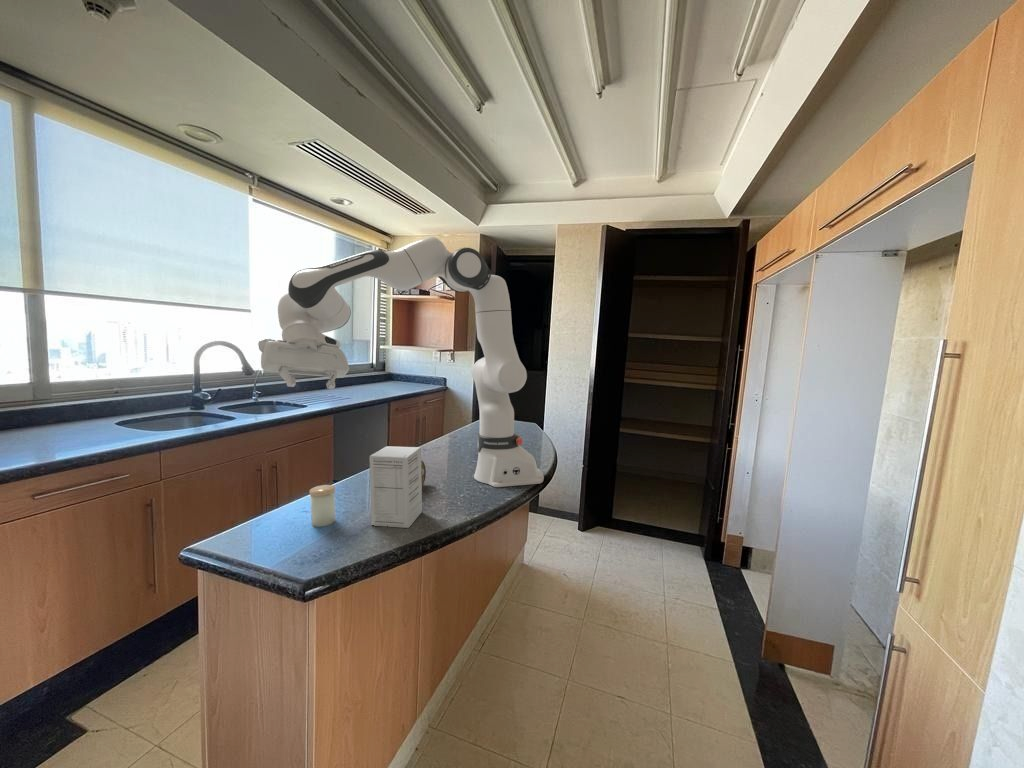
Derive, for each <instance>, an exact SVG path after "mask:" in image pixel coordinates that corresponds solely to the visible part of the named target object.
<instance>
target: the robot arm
mask: <svg viewBox="0 0 1024 768" xmlns="http://www.w3.org/2000/svg"><path fill="white" fill-rule="evenodd" d="M364 277H368V278H369V277H370V278H375V279H376V280H377V279H378V280H379V281H381V282H382V283H384V284H386V285H387V287H388V286H389V287H390V288H392V289H395V290H399V291H409V290H411V289H414V288H416V287H417V286H419V285H422V284H423V283H425V282H427V281H428V280H431V279H433V278H437V277H438V279H440V281H441V282H442V283H444V285H446V286H447V287H448V288H449V289H450V290H451V291H453V292H455V293H467V292H469V293H471V295H472V298H473V301H474V307H475V308H474V312H475V325H476V337H477V341H478V342H479V344H480V346H481V349H482V352H483V357H481V358H479V359H478V360H477V361H475V363H474V364H473V365H472V369H471V376H472V379H473V382H474V384H475V385H474V386H475V391H476V392H475V393H476V396H477V401H478V403H477V404H478V409H479V410H478V411H479V433H478V435H477V450H478V454H477V455H478V456H477V463H476V468H475V472H474V474H473V478H474V479H475V480H476V481H477V482H480V483H483V484H487V485H490V486H492V487H494V488H502V487H503V488H504V487H514V486H516V487H517V486H527V485H537V484H542V483H543V482H544V479H545V477H544V474H543V472H542V470H540V469H539V468H538V467H537V462H536V459H535V457H534V456H533V454H531V453H530V452H528V451H527V450H526V449H525V448H524V447H522V446H521V445H522V444H523V442H524V441H523V438H522V437H520V436H519V435H518V434H517V433H515V409H514V406H513V404H512V402H511V399H510V395H509V394H511V393H516V392H518V391H520V390H521V389H522V388H523V387H524V386H525V384H526V381H527V379H528V373H527V369H526V367H525V366H524V364H523V362H522V361H521V359H520V357H519V353H518V350H517V347H516V343H515V340H514V334H513V324H512V323H513V322H512V319H513V318H512V308H511V300H510V293H509V289H508V285H507V282H506V280H505V278H503V277H502V276H499V275H495V274H492V271H491V269H490V267H489V266H488V265H487V262H486V261H485V259H484V257H483V255H482V254H481V253H480V251H478V250H477V249H475V248H472V247H461V248H458V249H457V250H455V251H454V252H451V251H449V250H448V249H447V247H446V246H445V244H444V243H443V242H442V241H441V240H440V239H439V238H437V237H434V236H430V237H429V236H428V237H426V238H422V239H419V240H415V241H413V242H411V243H407V244H406V245H404V246H402V247H400V248H398V249H395V250H391V251H390V250H389V251H383V250H380V249H371V250H367V251H364V252H361V253H356V254H354V255H351V256H348V257H345V258H342V259H338V260H335V261H333V262H329V263H326V264H324V265H320V266H313V267H309V268H303V269H301V270H298V271H296V272H295V273H293V275H292V276H291V278H290V281H288V282H289V283H288V289H287V290H288V291H287V292H286V293H285V294H283V295H282V296H281V298H280V299H279V301H278V305H277V317H278V318H277V319H278V322H279V327H280V329H281V330H282V331H281V339H273V338H267V337H266V338H264V339H260V340H259V341H258V344H257V345H258V349H259V351H260V352H261V355H260V367H261V369H262V370H263V371H264V372H267V373H278V375H279V376H280V378H282V379H283V380H284V381H285V382H286V387H288V388H289V387H291V388H292V387H293V388H294V387H295V386H296V384H297V380H296V377H294V376H293V377H292V376H291V375H301V376H302V375H303V376H316V377H325V378H326V377H328V381H327V382H326V383H325V385H326V389H328V390H334V389H335V387H336V382H335V381H336V378H339V379H340V378H341V379H342V378H344V377H345V376H346V375H347V373H348V372H349V371H350V365H349V363H348V360H347V357H346V355H345V353H344V351H343V350H342V349H341V342H340V340H338V339H335V338H333V337H331V336H328V335H325V334H324V333H328V332H333V331H335V330H338V329H341V328H343V327H344V326H345V325H346V324H347V323H348V322H349V320H350V319H351V315H352V314H351V313H352V310H351V307H350V306H349V304H348V303H347V302H346V300H345V299H344V297H343V296H342V295H341V294H340V293H339V291H338V290H337V289H336V287H338V286H341V285H344V284H347V283H349V282H353V281H355V280H358V279H361V278H364Z"/></svg>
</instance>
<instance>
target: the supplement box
mask: <svg viewBox="0 0 1024 768" xmlns="http://www.w3.org/2000/svg"><path fill="white" fill-rule="evenodd" d="M421 460H422V447H421V446H420V447H418V446H396V445H395V446H390V445H389V446H388V445H387V446H384V447H383V448H381V449H380V450H378V451H376V452H374V453H372V454H370V455H369V491H370V522H371V524H370V525H371V526H372V525H374V526H373V527H375V526H376V527H387V526H388V527H390V528H406V529H409V528H410V526H412V525H413V523H414V522H415V521H416V519H418V517H419V516H420V515H421V513H423V499H422V498H423V491H422V490H423V489H422V487H423V486H422V479H421Z"/></svg>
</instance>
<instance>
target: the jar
mask: <svg viewBox="0 0 1024 768" xmlns="http://www.w3.org/2000/svg"><path fill="white" fill-rule="evenodd" d="M335 492H336V486H335V485H333V484H322V485H316V486H314V487H312V488H311V489H309V496H310V514H311V516H310V517H311V519H310V520H311V525H312V526H313V527H326V526H330V525H332V524H334V523H335V522H336V501H335V496H336V495H335Z"/></svg>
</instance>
